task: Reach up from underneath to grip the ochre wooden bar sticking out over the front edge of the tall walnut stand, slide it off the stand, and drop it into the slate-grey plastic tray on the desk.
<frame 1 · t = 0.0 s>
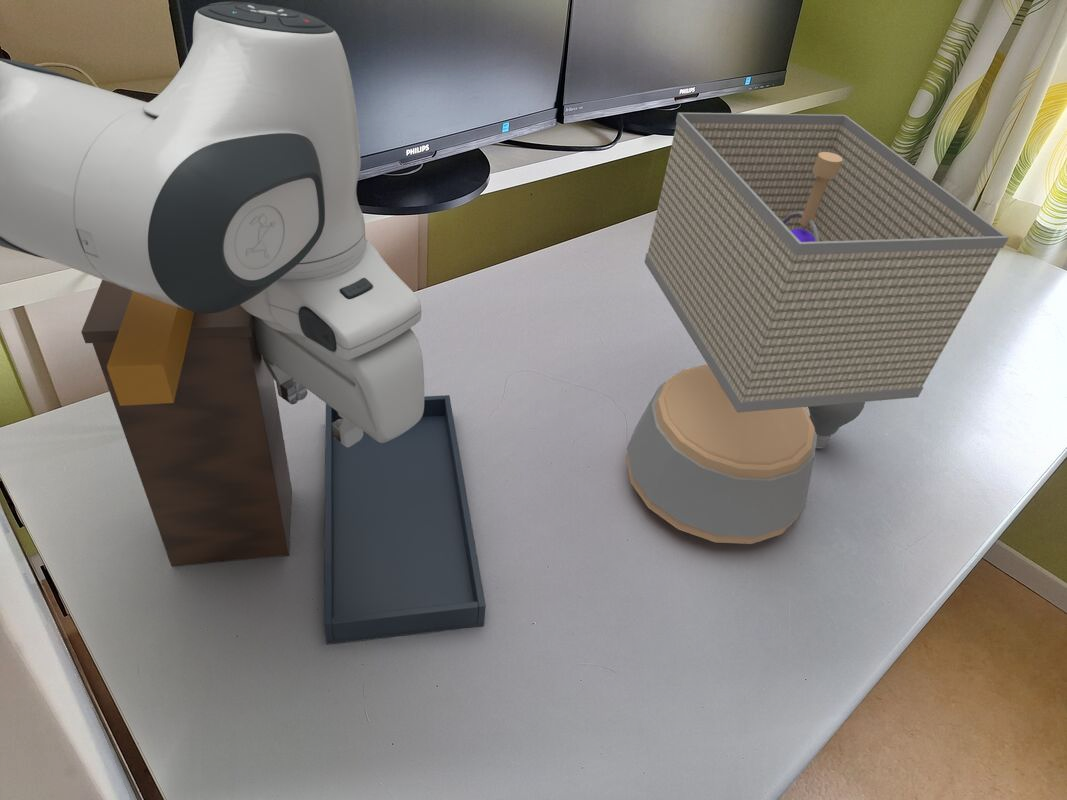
hand: (320, 417, 60), 16 cm above the table, tool pointing down, fingers open, 5 cm apart
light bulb: (813, 444, 88), on the table
tray: (397, 512, 74), on the table
bar: (174, 301, 54), point 26 cm above the table, touching stand
desk lamp: (709, 486, 81), on the table
stand: (235, 526, 71), on the table
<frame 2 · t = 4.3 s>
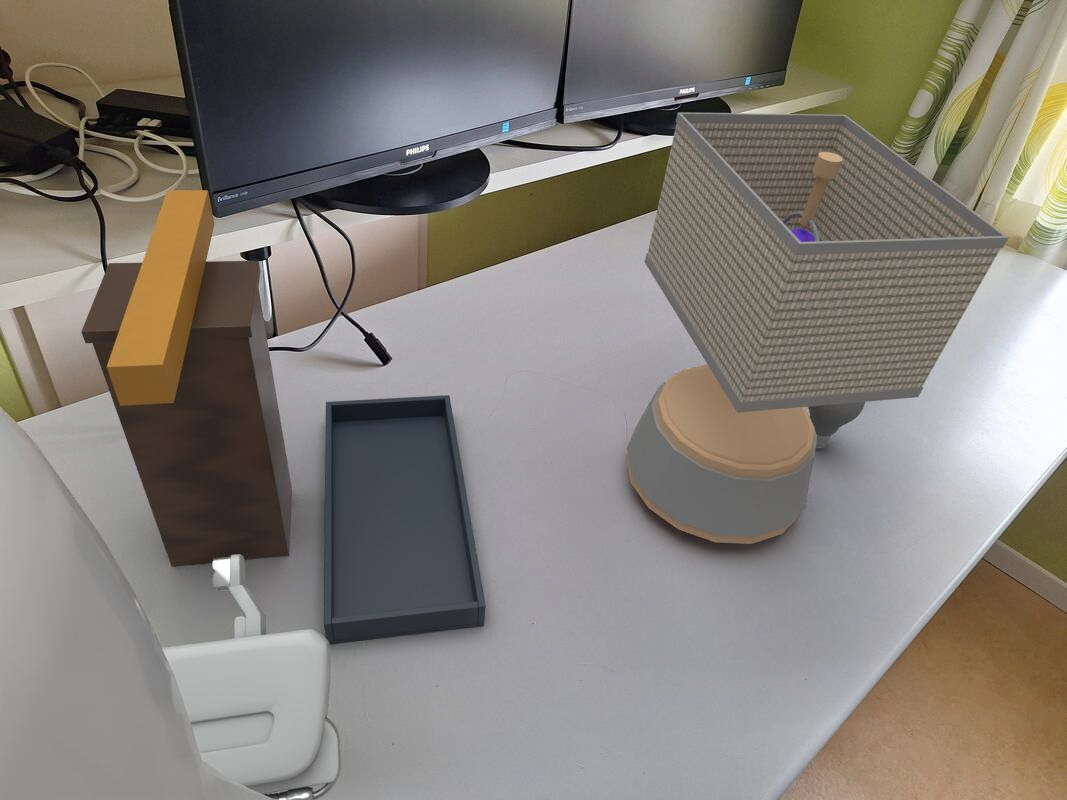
hand: (140, 565, 43), 21 cm above the table, tool pointing upward, fingers open, 8 cm apart
nothing on the table moved.
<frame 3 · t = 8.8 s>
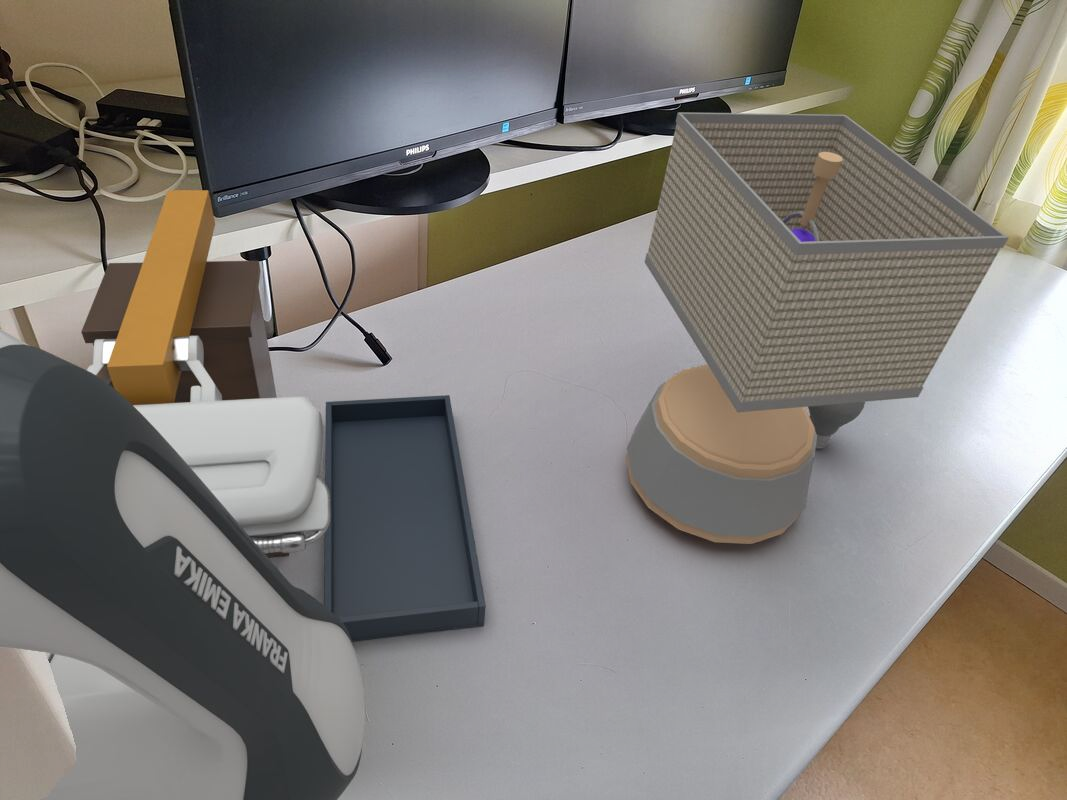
hand: (150, 340, 47), 28 cm above the table, tool pointing upward, fingers closed on bar, 3 cm apart
bar: (175, 301, 54), point 26 cm above the table, touching gripper, stand
everything else where it was.
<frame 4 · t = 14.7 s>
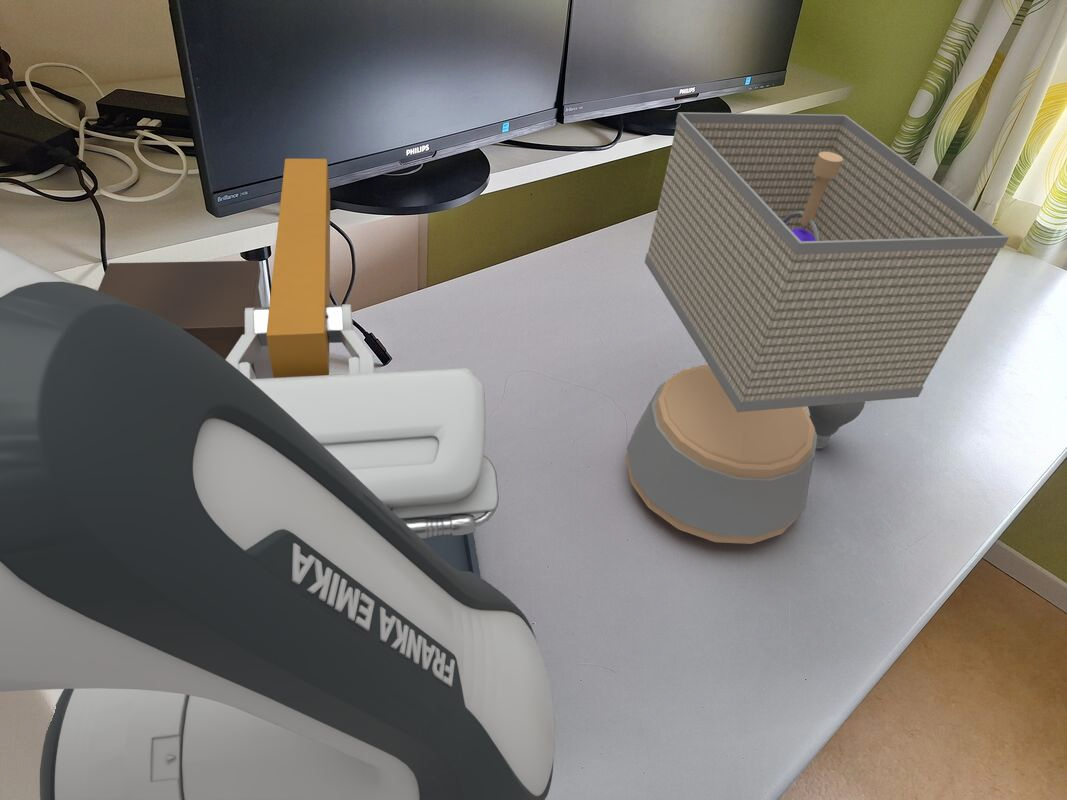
hand: (299, 309, 44), 32 cm above the table, tool pointing upward, fingers closed on bar, 3 cm apart
bar: (306, 272, 51), point 30 cm above the table, touching gripper
everything else where it was.
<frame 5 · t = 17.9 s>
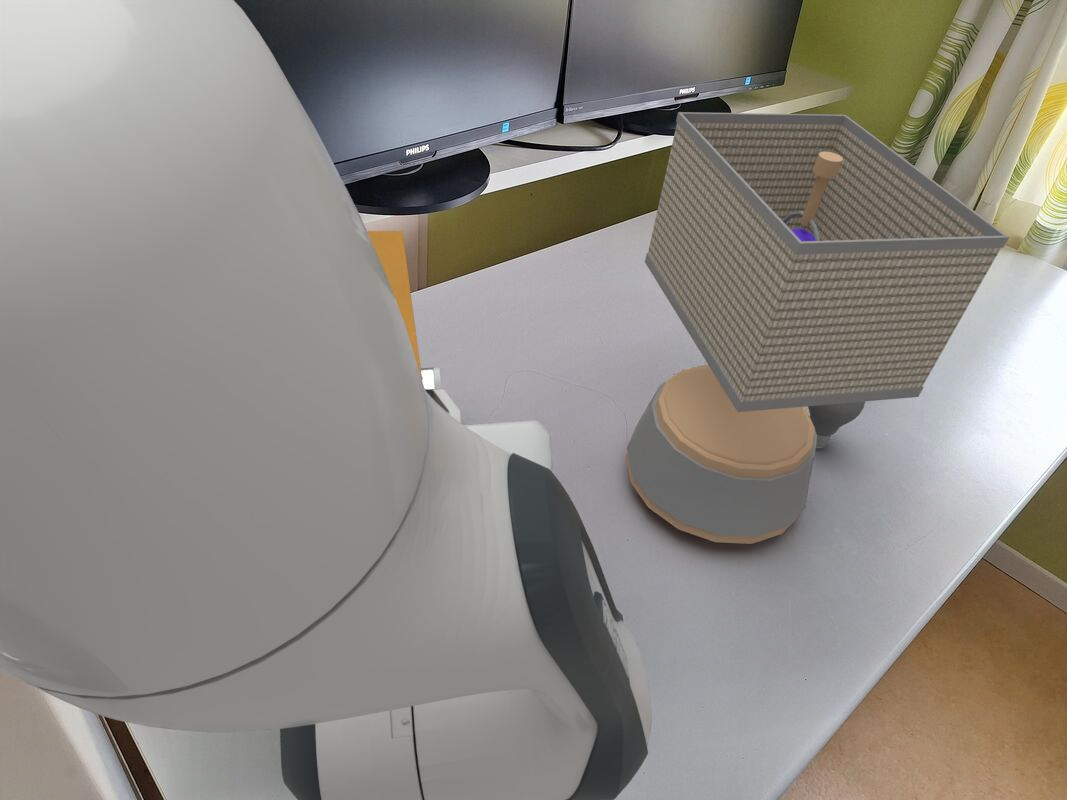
hand: (397, 371, 54), 24 cm above the table, tool pointing upward, fingers closed on bar, 3 cm apart
bar: (393, 333, 60), point 22 cm above the table, touching gripper
everything else where it was.
when the fingers open (16 cm above the table, at t = 20.6 s): bar drops 14 cm, resting on tray.
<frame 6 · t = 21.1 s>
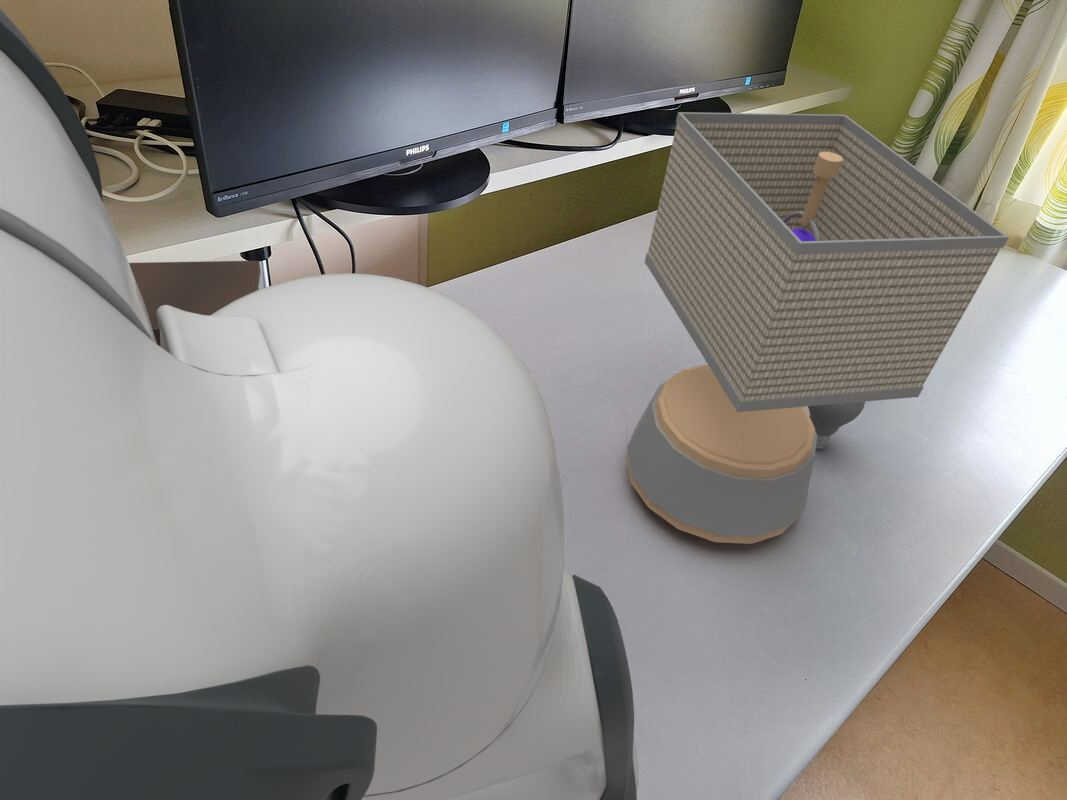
hand: (398, 448, 59), 16 cm above the table, tool pointing upward, fingers open, 8 cm apart
bar: (395, 515, 74), resting on tray
everything else where it was.
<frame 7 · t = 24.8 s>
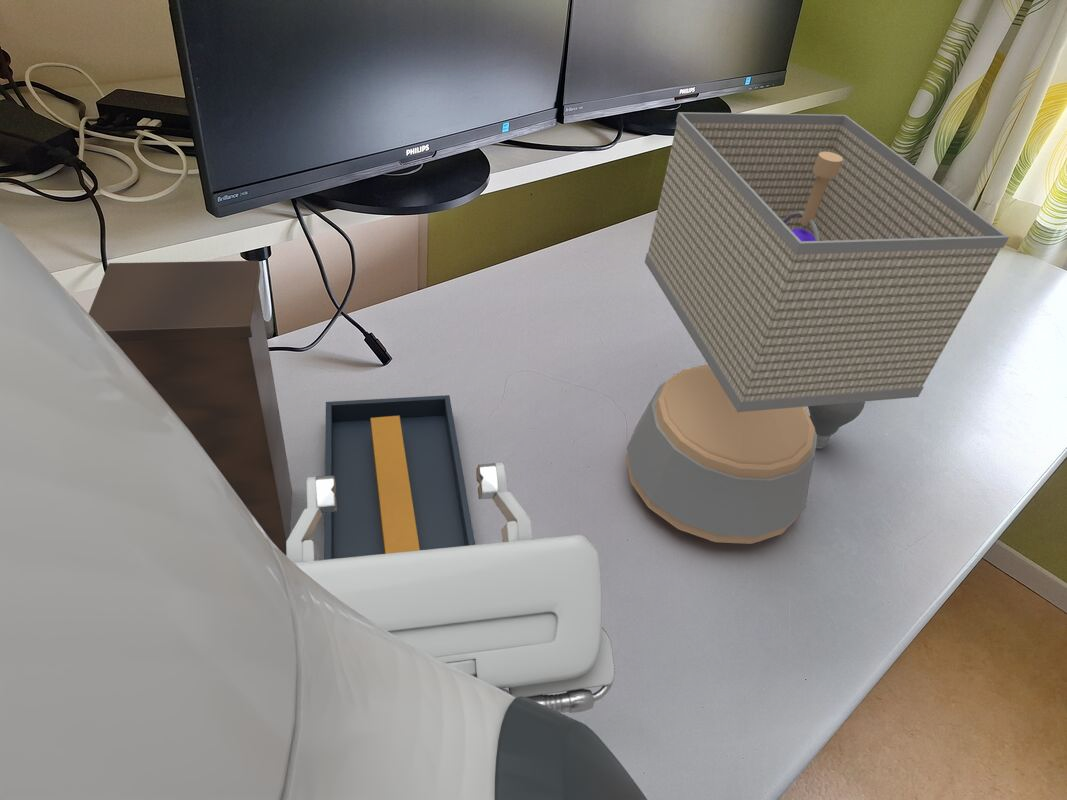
hand: (407, 471, 43), 26 cm above the table, tool pointing upward, fingers open, 8 cm apart
nothing on the table moved.
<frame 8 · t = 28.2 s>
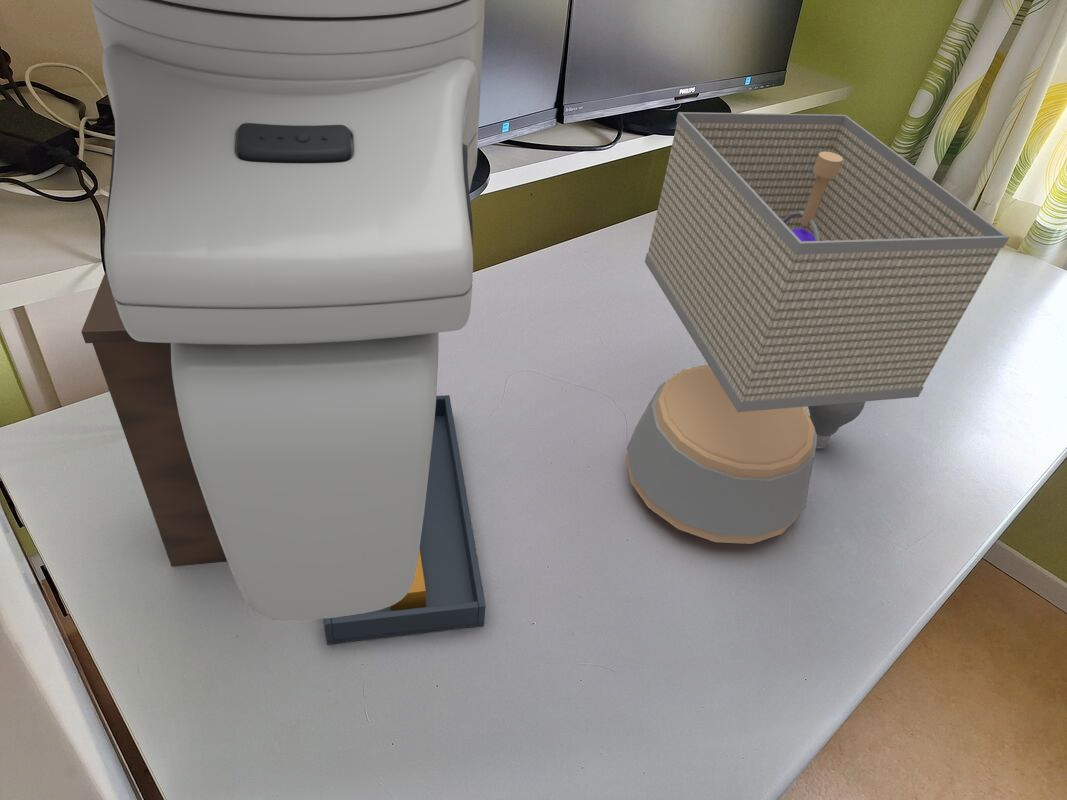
hand: (343, 466, 28), 37 cm above the table, tool pointing down, fingers open, 8 cm apart
nothing on the table moved.
at the end: bar inside the target area in the tray (0.8 cm from its centre), point 0.5 cm above the tray's base; bar touching tray; the gripper is holding nothing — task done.
